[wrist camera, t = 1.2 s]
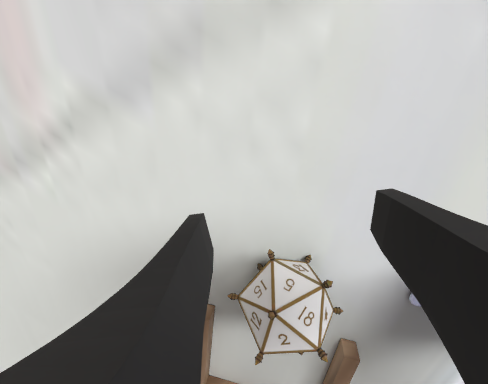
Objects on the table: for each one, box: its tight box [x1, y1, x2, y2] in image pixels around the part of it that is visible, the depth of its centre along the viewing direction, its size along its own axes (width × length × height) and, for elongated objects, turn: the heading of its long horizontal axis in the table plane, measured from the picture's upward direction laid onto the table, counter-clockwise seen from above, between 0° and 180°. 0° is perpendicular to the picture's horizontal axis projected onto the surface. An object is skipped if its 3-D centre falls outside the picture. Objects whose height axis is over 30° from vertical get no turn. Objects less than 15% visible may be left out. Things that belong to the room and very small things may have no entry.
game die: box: [228, 249, 343, 365], centre depth 20 cm, size 9×8×10 cm
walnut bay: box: [201, 304, 360, 384], centre depth 29 cm, size 17×14×2 cm
